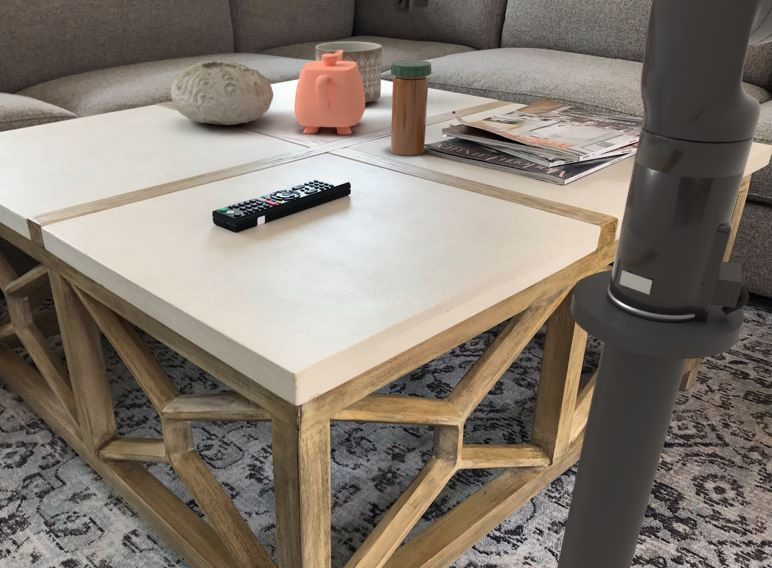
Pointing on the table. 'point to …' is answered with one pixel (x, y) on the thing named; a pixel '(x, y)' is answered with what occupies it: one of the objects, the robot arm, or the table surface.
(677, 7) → the robot arm
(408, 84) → the jar
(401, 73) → the lid
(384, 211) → the table surface
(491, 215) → the table surface
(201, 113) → the grey rounded lump
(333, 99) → the teapot
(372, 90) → the planter
